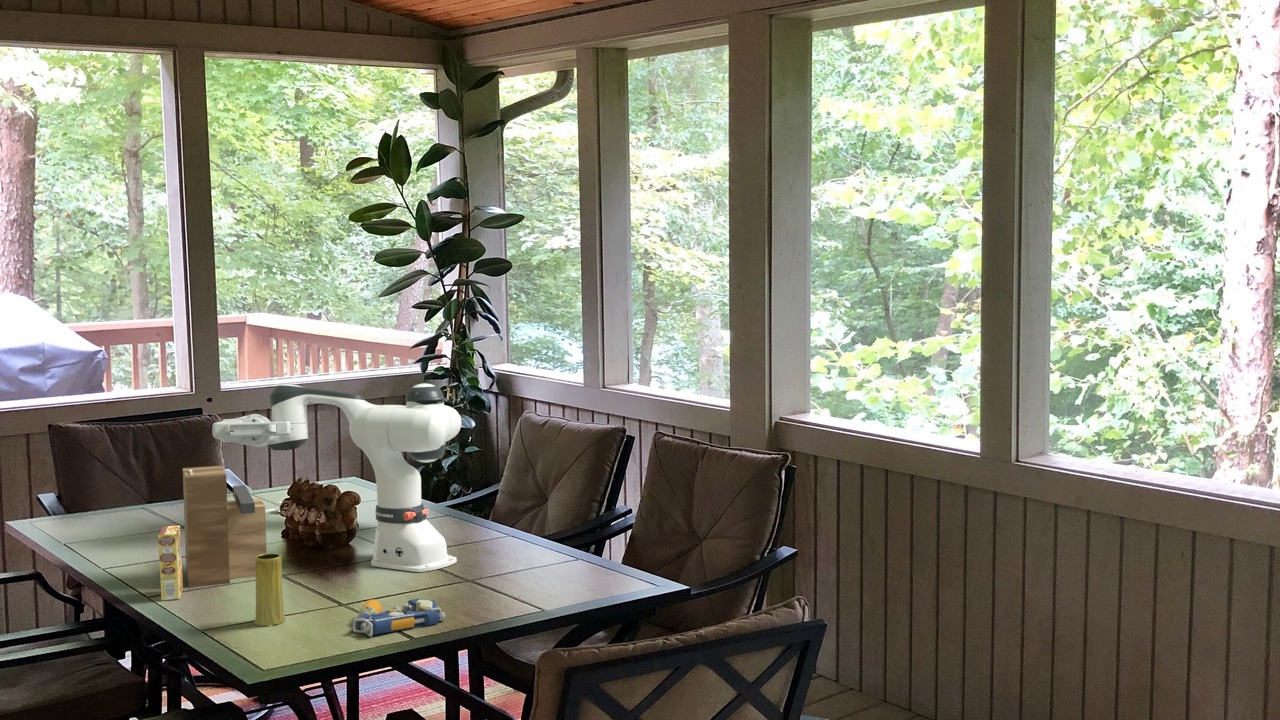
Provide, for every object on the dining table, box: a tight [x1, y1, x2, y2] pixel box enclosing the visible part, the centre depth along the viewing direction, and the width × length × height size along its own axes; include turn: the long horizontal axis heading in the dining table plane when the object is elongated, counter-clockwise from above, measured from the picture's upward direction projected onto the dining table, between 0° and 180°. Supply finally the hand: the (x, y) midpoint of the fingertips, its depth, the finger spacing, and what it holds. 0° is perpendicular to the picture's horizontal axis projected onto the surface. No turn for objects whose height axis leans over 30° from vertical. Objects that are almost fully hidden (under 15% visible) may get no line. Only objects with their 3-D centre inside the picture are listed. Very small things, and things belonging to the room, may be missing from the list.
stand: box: [182, 465, 268, 588], centre depth 295 cm, size 14×18×26 cm
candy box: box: [157, 525, 184, 601], centre depth 278 cm, size 9×4×15 cm, turn 16°
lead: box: [232, 484, 255, 514], centre depth 298 cm, size 24×3×2 cm, turn 23°
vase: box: [254, 552, 286, 627], centre depth 258 cm, size 6×6×14 cm
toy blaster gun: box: [352, 598, 447, 637], centre depth 258 cm, size 21×4×15 cm
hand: (249, 428), depth 322 cm, fingers open, 8 cm apart
